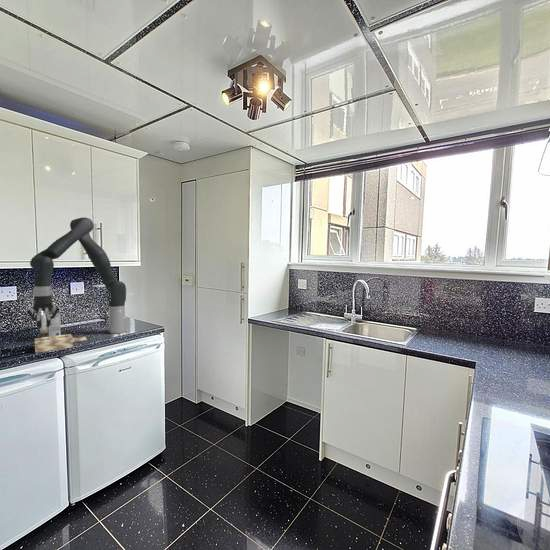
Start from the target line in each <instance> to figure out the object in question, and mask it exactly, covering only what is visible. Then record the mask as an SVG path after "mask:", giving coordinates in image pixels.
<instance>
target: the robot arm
mask: <svg viewBox="0 0 550 550" xmlns="http://www.w3.org/2000/svg"><path fill="white" fill-rule="evenodd" d="M69 226H70V230H69V231H68V232H67V233H65V234H63V235H62V236H60V237H58V238H57V239H56V240H55V241H53V242H52V243H51V244H50V245H49V246H48V247H47V248H45V249H43V250H42V251H41V252H38V253H37V254H35V255H34V256H33V257H32V258H31V260H30V263H29V264H30V265H29V266H30V267H31V268H32V269H34V270H38V274H36V275H34V277H33V306H32V308H29V309H27V310H26V312H27V314H28V315H29V317H30V318H31V320H32V321H36V327H37V328H38V329H40V328H41V325H40V316H41V311H46V314H47V319H48V320H47V327H49V326H50V325H51V319H53V318H55V316H56V314H57V312H59V309H60V308H59V306H54V305H53V290H52V279H51V278H52V275H53V272H54V267H55V265H54V264H55V263H54V260H56V259H59V258H60V257H61V256H62V255H63V254H64V253H66V251H67V250H68V249H70V248H71V247H72V246H73V245H74V244H75V243H76V242H78V241H79V243H80V244H81V246H82V248H83V250H84V251H85V252H86V255H87V256H88V258H89V259H90V261H91V264H92V265H93V267H94V269H95V270H96V271H97V274H99V276H100V278H101V280H102V282H103V285H104V287H105V290H106V291H107V292H108V293H109V294H110V300H109V301H108V332H109V334H113V333H115V334H122V333H126V332H127V317H126V300H127V286H126V284H125V283H124V282H123V281H120V280H118V279H117V278H116V276H115V274H114V273H113V270H112V265H111V261H110V258H109V257H108V255H107V253H106V251H105V250H104V249H103V248H102V246H100V245H99V244H98V243H97V242H96V241H94V240H93V239H92V237H91V235H90V233H91V232H92V231H93V229H94V226H95V224H94V222H93V220H92V219H91V218H89V217H78V218H74V219H72V220H71V221H70V224H69ZM51 310H53V311H54V313H53V315H52V316H50V314H49V312H50V311H51ZM34 311H35V312H36V313H37V315H36V317H35V315H34V314H33V312H34ZM125 331H126V332H125Z"/></svg>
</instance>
